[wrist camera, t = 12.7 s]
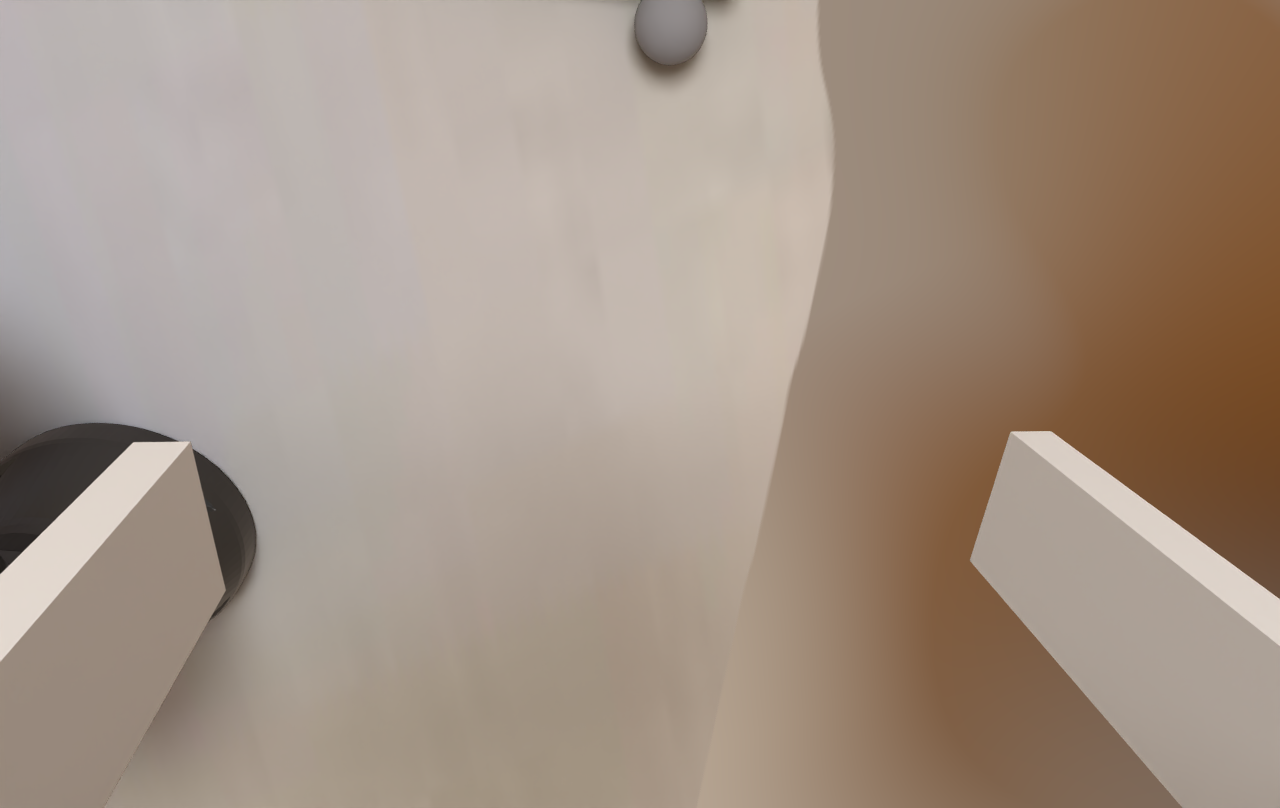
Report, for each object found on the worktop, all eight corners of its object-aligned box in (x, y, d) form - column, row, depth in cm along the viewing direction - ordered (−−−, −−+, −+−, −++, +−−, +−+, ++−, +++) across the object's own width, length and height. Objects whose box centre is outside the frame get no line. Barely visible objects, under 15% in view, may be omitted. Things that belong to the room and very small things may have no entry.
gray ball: (627, 60, 38) (634, 61, 35) (634, -20, 36) (643, -26, 33) (695, 67, 38) (708, 70, 35) (704, -10, 37) (719, -15, 34)
